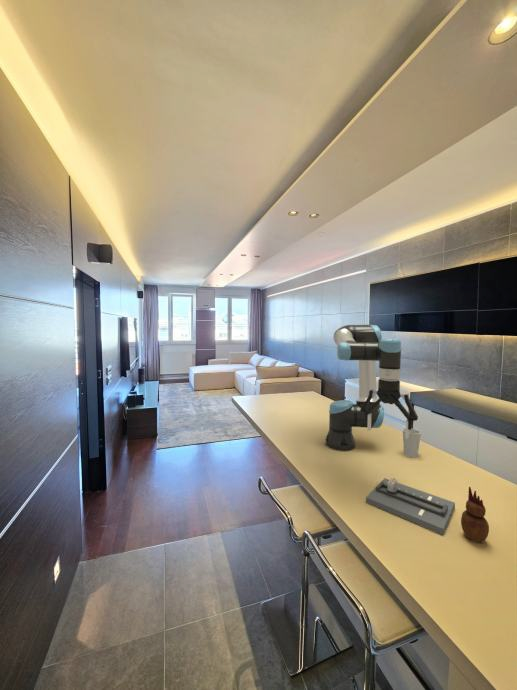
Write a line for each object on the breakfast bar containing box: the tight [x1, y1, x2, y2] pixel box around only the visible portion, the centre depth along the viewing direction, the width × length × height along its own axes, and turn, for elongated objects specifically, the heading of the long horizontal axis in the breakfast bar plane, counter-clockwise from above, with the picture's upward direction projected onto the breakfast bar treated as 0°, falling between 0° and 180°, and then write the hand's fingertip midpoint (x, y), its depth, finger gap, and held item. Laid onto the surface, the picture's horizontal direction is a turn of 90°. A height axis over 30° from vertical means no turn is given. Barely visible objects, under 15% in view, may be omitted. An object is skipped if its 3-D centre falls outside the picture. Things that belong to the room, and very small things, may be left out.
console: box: [365, 478, 456, 536], centre depth 104 cm, size 24×18×4 cm
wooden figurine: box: [460, 486, 490, 544], centre depth 88 cm, size 7×6×15 cm
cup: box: [402, 427, 422, 459], centre depth 144 cm, size 8×8×12 cm
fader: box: [387, 477, 398, 495], centre depth 108 cm, size 3×4×5 cm, turn 137°
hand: (387, 433), depth 114 cm, fingers open, 13 cm apart
